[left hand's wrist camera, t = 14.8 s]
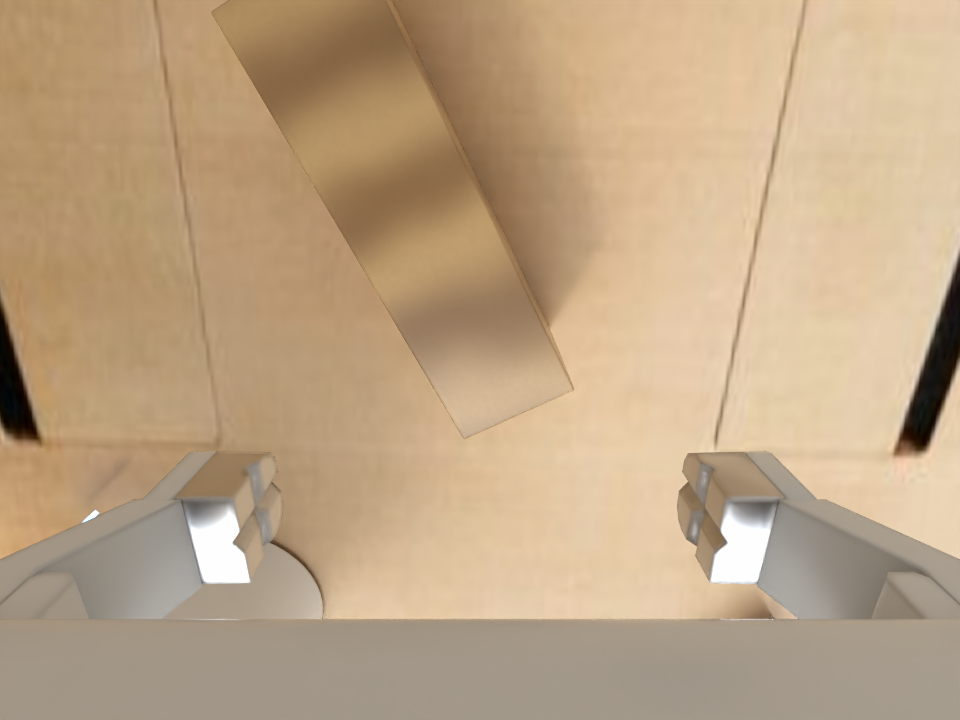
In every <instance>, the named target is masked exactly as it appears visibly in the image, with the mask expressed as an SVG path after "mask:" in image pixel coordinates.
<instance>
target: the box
mask: <svg viewBox="0 0 960 720" xmlns="http://www.w3.org/2000/svg"><path fill="white" fill-rule="evenodd" d="M212 15H213V17H214V18H215V20H216V22H217V23H218V25H219V27H220V29H221V30H222V32H223V34H224V35H225V37H226V39H227V40H228V42H229V44H230V45H231V47H232V49H233V50H234V52H235V54H236V56H237V57H238V59H239V61H240V62H241V64H242V66H243V67H244V69H245V71H246V72H247V74H248V76H249V77H250V79H251V81H252V83H253V84H254V86H255V88H256V89H257V91H258V93H259V94H260V96H261V98H262V99H263V101H264V103H265V104H266V106H267V108H268V110H269V111H270V113H271V115H272V116H273V118H274V120H275V121H276V123H277V125H278V126H279V128H280V130H281V131H282V133H283V135H284V137H285V138H286V140H287V142H288V143H289V145H290V147H291V148H292V150H293V152H294V153H295V155H296V157H297V158H298V160H299V162H300V164H301V165H302V167H303V169H304V170H305V172H306V174H307V175H308V177H309V179H310V180H311V182H312V184H313V185H314V187H315V189H316V191H317V192H318V194H319V196H320V197H321V199H322V201H323V202H324V204H325V206H326V207H327V209H328V211H329V212H330V214H331V216H332V218H333V219H334V221H335V223H336V224H337V226H338V228H339V229H340V231H341V233H342V234H343V236H344V238H345V239H346V241H347V243H348V245H349V246H350V248H351V250H352V251H353V253H354V255H355V256H356V258H357V260H358V261H359V263H360V265H361V266H362V268H363V270H364V272H365V273H366V275H367V277H368V278H369V280H370V282H371V283H372V285H373V287H374V288H375V290H376V292H377V293H378V295H379V297H380V299H381V300H382V302H383V304H384V305H385V307H386V309H387V310H388V312H389V314H390V315H391V317H392V319H393V321H394V322H395V324H396V326H397V327H398V329H399V331H400V332H401V334H402V336H403V337H404V339H405V341H406V342H407V344H408V346H409V348H410V349H411V351H412V353H413V354H414V356H415V358H416V359H417V361H418V363H419V364H420V366H421V368H422V369H423V371H424V373H425V375H426V376H427V378H428V380H429V381H430V383H431V385H432V386H433V388H434V390H435V391H436V393H437V395H438V396H439V398H440V400H441V402H442V403H443V405H444V407H445V408H446V410H447V412H448V413H449V415H450V417H451V418H452V420H453V422H454V423H455V425H456V427H457V429H458V430H459V432H460V434H461V435H462V437H463V438H464V439H465V438H468V437H470V436H472V435H474V434H477V433H479V432H481V431H483V430H486V429H488V428H490V427H492V426H495V425H497V424H499V423H501V422H504V421H506V420H508V419H510V418H513V417H515V416H517V415H519V414H522V413H524V412H526V411H528V410H531V409H533V408H535V407H537V406H539V405H542V404H544V403H546V402H548V401H551V400H553V399H555V398H557V397H560V396H562V395H564V394H566V393H569V392H571V391H573V390H574V387H573V385H572V382H571V380H570V378H569V375H568V373H567V370H566V368H565V365H564V363H563V360H562V358H561V355H560V353H559V350H558V348H557V345H556V343H555V340H554V338H553V336H552V333H551V331H550V328H549V326H548V324H547V322H546V320H545V318H544V316H543V314H542V312H541V309H540V307H539V305H538V303H537V301H536V299H535V297H534V295H533V293H532V291H531V289H530V287H529V285H528V282H527V280H526V278H525V276H524V274H523V272H522V270H521V268H520V266H519V264H518V262H517V260H516V257H515V255H514V253H513V251H512V249H511V247H510V245H509V243H508V241H507V239H506V237H505V235H504V232H503V230H502V228H501V226H500V224H499V222H498V220H497V218H496V216H495V214H494V212H493V210H492V208H491V205H490V203H489V201H488V199H487V197H486V195H485V193H484V191H483V189H482V187H481V185H480V183H479V180H478V178H477V176H476V174H475V172H474V170H473V168H472V166H471V164H470V162H469V160H468V158H467V155H466V153H465V151H464V149H463V147H462V145H461V143H460V141H459V139H458V137H457V135H456V133H455V130H454V128H453V126H452V124H451V122H450V120H449V118H448V116H447V114H446V112H445V110H444V108H443V106H442V103H441V101H440V99H439V97H438V95H437V93H436V91H435V89H434V87H433V85H432V83H431V81H430V78H429V76H428V74H427V72H426V70H425V68H424V66H423V64H422V62H421V60H420V58H419V56H418V53H417V51H416V49H415V47H414V45H413V43H412V41H411V39H410V37H409V35H408V33H407V31H406V28H405V26H404V24H403V22H402V20H401V18H400V16H399V14H398V12H397V10H396V8H395V6H394V4H393V1H392V0H228V1H227V2H225V3H224V4H222V5H221V6H219V7H218V8H216V9H215V10H213V11H212Z"/></svg>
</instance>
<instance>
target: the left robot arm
mask: <svg viewBox="0 0 960 720" xmlns="http://www.w3.org/2000/svg"><path fill="white" fill-rule="evenodd" d="M277 472H278V471H277V466H276V461H275V457H274V456H273V455H272V454H271V453H270V452H218V451H196V452H191V453H188V454H187V455H186V456H185V457H184V458H183V459H182V460H181V461H180V462H179V463H178V465H177V466H176V467H175V468H174V469H173V470H172V471H171V472H170V473H169V474H168V475H167V476H166V477H165V478H164V479H163V480H162V481H161V482H160V483H159V484H158V485H157V486H156V487H155V488H154V489H153V490H152V491H151V492H150V493H149V494H148V495H147V496H146V497H145V498H144V499H143V500H132V501H130V502H128V503H125V504H123V505H121V506H119V507H116V508H114V509H112V510H110V511H107V512H105V513H103V514H101V515H98V516H96V515H97V514H98V513H99V512H97V511H96V510H95V511H94V512H93V513H92V514H91V515H90V516H89V517H87V518H86V519H85V520H84V521H83V522H82V523H80V524H78V525H76V526H74V527H71V528H69V529H67V530H65V531H63V532H60V533H58V534H56V535H54V536H51V537H49V538H47V539H45V540H42V541H40V542H38V543H36V544H33V545H31V546H29V547H27V548H24V549H22V550H20V551H18V552H15V553H13V554H11V555H9V556H6V557H4V558H2V559H0V720H960V559H958V558H955V557H953V556H951V555H949V554H946V553H944V552H942V551H940V550H938V549H935V548H933V547H931V546H929V545H926V544H924V543H922V542H920V541H917V540H915V539H913V538H911V537H908V536H906V535H904V534H902V533H900V532H897V531H895V530H893V529H891V528H888V527H886V526H884V525H882V524H879V523H877V522H875V521H873V520H870V519H868V518H866V517H864V516H862V515H859V514H857V513H855V512H853V511H850V510H848V509H846V508H844V507H841V506H839V505H837V504H835V503H832V502H830V501H828V500H817V499H816V498H815V497H814V496H813V495H812V494H811V493H810V492H809V491H808V490H807V489H806V488H805V486H804V485H803V484H802V483H801V482H800V481H799V480H798V479H797V478H796V477H795V476H794V475H793V474H792V473H791V472H790V471H789V470H788V469H787V468H786V467H785V466H784V465H783V464H782V463H781V462H780V461H779V460H778V459H777V458H776V457H775V456H774V455H773V454H772V453H769V452H766V451H750V452H716V453H688V454H687V456H686V458H685V460H684V465H683V471H682V472H683V474H684V475H685V477H686V479H687V480H688V482H687V483H686V484H685V485H684V486H683V488H682V489H681V490H680V491H679V495H678V503H677V510H678V520H679V523H680V527H681V530H682V532H683V534H684V536H685V538H686V539H687V540H688V541H690V542H691V543H693V544H694V545H696V546H697V550H696V558H697V560H698V562H699V564H700V565H701V567H702V569H703V571H704V573H705V574H706V576H707V578H708V580H709V582H710V583H732V584H758V587H759V588H760V589H762V590H763V591H764V592H765V593H767V594H768V595H769V596H770V597H772V598H773V599H774V600H775V601H777V602H778V603H779V604H781V605H782V606H783V607H784V608H786V609H787V610H788V611H789V612H791V613H792V614H793V615H795V616H796V617H797V618H798V619H322V617H323V601H322V597H321V593H320V590H319V588H318V586H317V584H316V582H315V580H314V578H313V577H312V576H311V574H310V573H309V572H308V570H307V569H306V568H305V567H304V566H303V565H302V564H301V563H300V562H299V561H298V560H297V559H296V558H294V557H293V556H292V555H290V554H289V553H288V552H286V551H285V550H283V549H281V548H280V547H278V546H276V545H274V544H272V543H270V541H272V540H273V539H274V538H275V536H276V534H277V532H278V530H279V527H280V523H281V518H282V514H283V501H282V494H281V491H280V490H279V489H278V488H277V487H276V485H275V484H274V483H273V482H272V480H273V479H274V477H275V475H276V474H277Z"/></svg>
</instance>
